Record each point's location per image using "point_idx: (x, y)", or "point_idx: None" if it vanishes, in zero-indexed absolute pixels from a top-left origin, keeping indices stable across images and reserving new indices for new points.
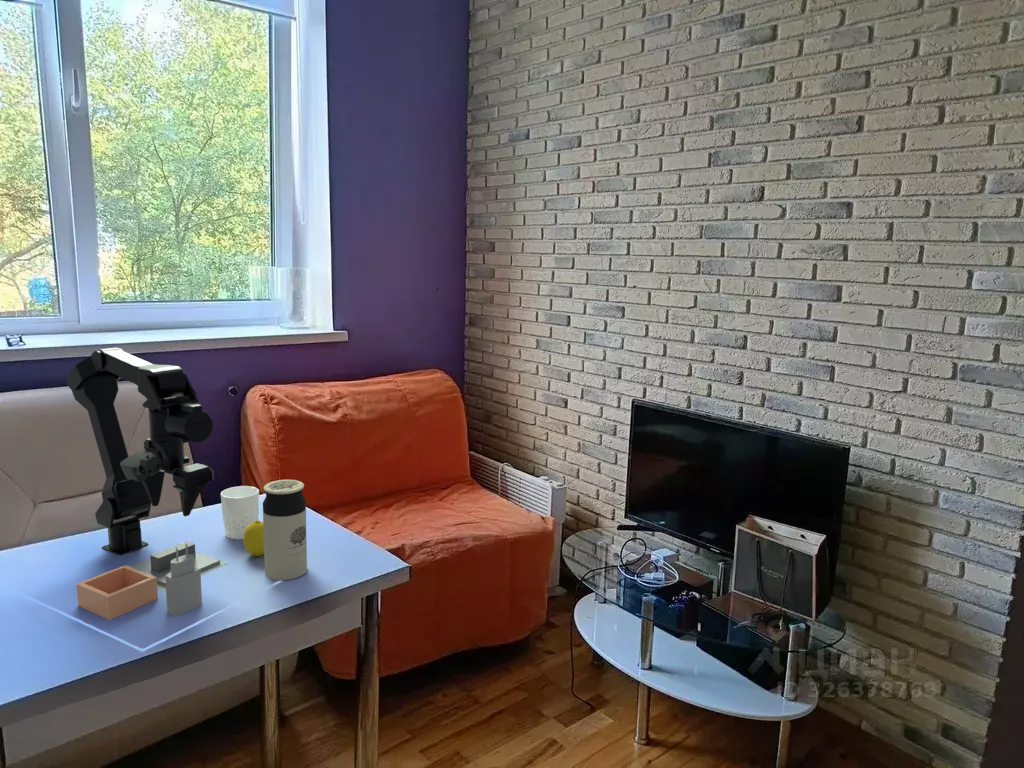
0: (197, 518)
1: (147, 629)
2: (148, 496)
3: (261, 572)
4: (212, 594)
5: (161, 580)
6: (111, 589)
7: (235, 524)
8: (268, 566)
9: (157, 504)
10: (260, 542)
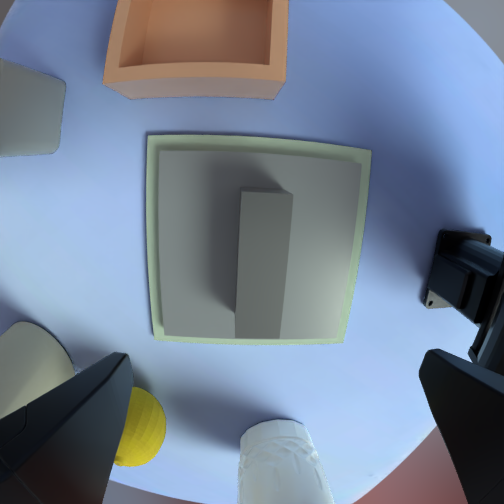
0: (410, 424)
1: (55, 27)
2: (485, 369)
3: (68, 340)
4: (51, 204)
5: (187, 154)
6: (265, 43)
7: (260, 453)
8: (17, 336)
9: (421, 372)
10: None
